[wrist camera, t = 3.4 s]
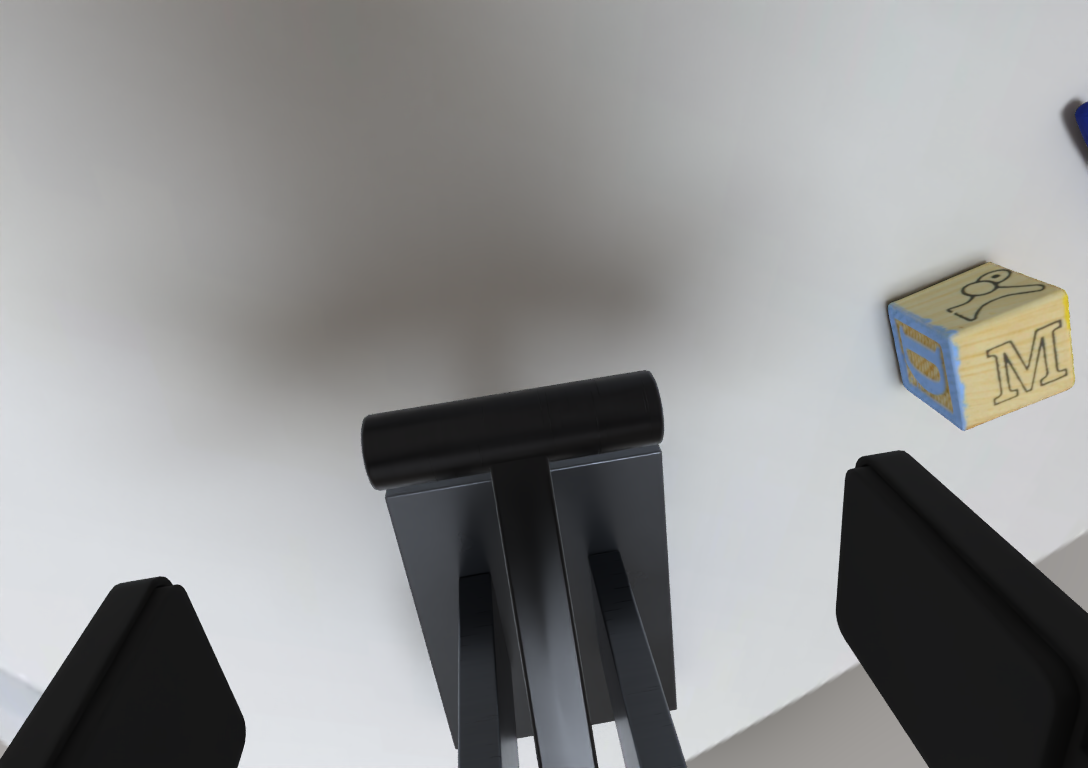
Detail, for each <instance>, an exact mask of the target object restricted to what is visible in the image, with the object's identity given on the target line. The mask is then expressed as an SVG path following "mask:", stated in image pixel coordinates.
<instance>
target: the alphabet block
mask: <svg viewBox="0 0 1088 768" xmlns="http://www.w3.org/2000/svg"><path fill="white" fill-rule="evenodd" d="M1068 308H1069V302H1068V296H1067V293H1066V292H1065V290H1063V289H1061V288H1059V287H1056V286H1054V285H1051V284H1047V283H1045V282H1042V281H1039V280H1037V279H1034V278H1031V277H1028V276H1025V275H1023V274H1021V273H1017V272H1014V271H1012V270H1010V269H1007V268H1004V267H1001V266H999V265H996V264H994V263H991V262H988V263H986V264H983V265H981V266H979V267H976V268H974V269H972V270H969V271H967V272H964V273H962V274H960V275H957V276H955V277H953V278H950V279H948V280H946V281H943V282H941V283H938V284H936V285H933V286H931V287H929V288H926V289H924V290H922V291H919V292H917V293H914V294H912V295H910V296H907V297H905V298H903V299H900V300H898V301H895V302H892V303H890V304H889V306H888V314H889V318H890V323H891V327H892V333H893V337H894V340H895V347H896V352H897V357H898V361H899V366H900V371H901V376H902V381H903V385H904V386H905V388H906V389H907V390H908V391H910V392H911V393H913V394H914V395H915V396H916V397H918V398H919V399H921V400H922V401H923V402H925V403H926V404H928V405H929V406H930V407H932V408H933V409H934V410H936V411H937V412H938V413H940V414H941V415H942V416H944V417H945V418H946V419H948V420H949V421H951V422H952V423H953V424H954V425H956V426H957V427H958V428H959V429H961V430H963V431H965V430H968V429H970V428H973V427H975V426H977V425H980V424H983V423H985V422H987V421H990V420H992V419H995V418H997V417H1000V416H1003V415H1005V414H1008V413H1011V412H1013V411H1016V410H1018V409H1020V408H1023V407H1025V406H1028V405H1030V404H1033V403H1036V402H1038V401H1041V400H1043V399H1046V398H1048V397H1050V396H1053V395H1056V394H1058V393H1061V392H1063V391H1066V390H1068V389H1070V388H1071V387H1072V386H1073V385H1074V382H1075V375H1074V367H1073V354H1072V345H1071V335H1070V331H1071V328H1070V320H1069V318H1070V315H1069V310H1068Z"/></svg>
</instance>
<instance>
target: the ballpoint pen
mask: <svg viewBox="0 0 1088 768" xmlns="http://www.w3.org/2000/svg"><path fill="white" fill-rule="evenodd" d="M1075 118H1076V121H1077V124H1078V126H1079V129H1080V131H1081V134H1082V136H1083V139H1084V141H1085V143H1086V145H1087V147H1088V102H1086V103H1084V104H1082V105H1081V106H1080V107H1078V109H1077V110H1076V112H1075Z"/></svg>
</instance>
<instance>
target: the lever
mask: <svg viewBox="0 0 1088 768" xmlns="http://www.w3.org/2000/svg"><path fill="white" fill-rule="evenodd" d="M663 435H664V416H663V408H662V403H661V398H660V394H659V390H658V387H657V384H656V381H655V379H654V377H653V375H652V374H651V372H650V371H646V370H643V371H637V372H631V373H625V374H618V375H612V376H606V377H600V378H594V379H588V380H581V381H575V382H569V383H563V384H557V385H551V386H544V387H538V388H532V389H526V390H520V391H514V392H507V393H501V394H495V395H489V396H483V397H477V398H470V399H464V400H458V401H452V402H446V403H440V404H433V405H427V406H421V407H415V408H409V409H403V410H396V411H390V412H384V413H378V414H372V415H368V416H366V417H365V418H364V419H363V423H362V428H361V446H362V454H363V460H364V465H365V469H366V473H367V476H368V478H369V481H370V483H371V485H372V486H373V488H374V489H375V490H380V491H381V490H387V489H393V488H399V487H405V486H411V485H417V484H423V483H429V482H435V481H441V480H447V479H453V478H459V477H465V476H471V475H477V474H483V473H489V472H490V473H491V479H492V485H493V492H494V498H495V504H496V510H497V516H498V522H499V528H500V534H501V540H502V547H503V553H504V559H505V565H506V571H507V577H508V583H509V589H510V595H511V601H512V608H513V614H514V620H515V626H516V632H517V638H518V644H519V650H520V656H521V663H522V669H523V675H524V681H525V687H526V693H527V699H528V705H529V711H530V718H531V724H532V730H533V736H534V742H535V748H536V754H537V760H538V766H539V768H598V763H597V756H596V750H595V744H594V738H593V731H592V725H591V719H590V713H589V707H588V700H587V694H586V688H585V682H584V676H583V669H582V663H581V657H580V651H579V645H578V638H577V632H576V626H575V620H574V614H573V607H572V601H571V595H570V589H569V583H568V576H567V570H566V564H565V558H564V551H563V545H562V539H561V533H560V527H559V520H558V514H557V508H556V502H555V496H554V489H553V483H552V477H551V471H550V465H549V462H555V461H561V460H567V459H573V458H579V457H585V456H591V455H597V454H603V453H609V452H615V451H621V450H627V449H633V448H639V447H645V446H651V445H657V444H659V443H661V442H662V440H663Z"/></svg>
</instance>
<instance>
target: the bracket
mask: <svg viewBox="0 0 1088 768" xmlns="http://www.w3.org/2000/svg"><path fill="white" fill-rule="evenodd" d="M549 465H550V471H551V477H552V483H553V489H554V496H555V502H556V508H557V514H558V520H559V527H560V533H561V539H562V545H563V551H564V558H565V564H566V570H567V576H568V583H569V589H570V595H571V601H572V607H573V614H574V620H575V626H576V632H577V638H578V645H579V651H580V657H581V663H582V669H583V676H584V682H585V688H586V694H587V700H588V707H589V713H590V719H591V725H594V724H600V723H605V722H611V721H615V723H616V727H617V732H618V736H619V741H620V745H621V749H622V754H623V758H624V763H625V767H626V768H687V766H686V763H685V759H684V756H683V753H682V750H681V747H680V743H679V740H678V737H677V734H676V731H675V727H674V724H673V721H672V718H671V714H670V711H671V710H676V709H677V702H676V685H675V668H674V651H673V634H672V617H671V601H670V584H669V567H668V550H667V533H666V516H665V500H664V483H663V466H662V451H661V449H660V447H659V445H658V444H657V445H651V446H645V447H639V448H633V449H627V450H621V451H615V452H609V453H603V454H597V455H591V456H585V457H579V458H573V459H567V460H561V461H555V462H549ZM385 500H386V503H387V507H388V510H389V514H390V517H391V521H392V525H393V528H394V532H395V535H396V539H397V542H398V546H399V550H400V553H401V557H402V560H403V564H404V567H405V571H406V575H407V578H408V582H409V585H410V589H411V592H412V596H413V600H414V603H415V607H416V610H417V614H418V617H419V621H420V624H421V628H422V632H423V635H424V639H425V642H426V646H427V649H428V653H429V657H430V660H431V664H432V667H433V671H434V674H435V678H436V682H437V685H438V689H439V692H440V696H441V699H442V703H443V707H444V710H445V714H446V717H447V721H448V724H449V728H450V732H451V735H452V739H453V742H454V746H455V749H458V768H519V759H518V746H517V738H523V737H528V736H533V730H532V724H531V718H530V711H529V705H528V699H527V693H526V687H525V681H524V675H523V669H522V663H521V656H520V650H519V644H518V638H517V632H516V626H515V620H514V614H513V608H512V601H511V595H510V589H509V583H508V577H507V571H506V565H505V559H504V553H503V547H502V540H501V534H500V528H499V522H498V516H497V510H496V504H495V498H494V492H493V485H492V479H491V473H490V472H489V473H483V474H477V475H471V476H465V477H459V478H453V479H447V480H441V481H435V482H429V483H423V484H417V485H411V486H405V487H399V488H393V489H387V490H386V495H385Z"/></svg>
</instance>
